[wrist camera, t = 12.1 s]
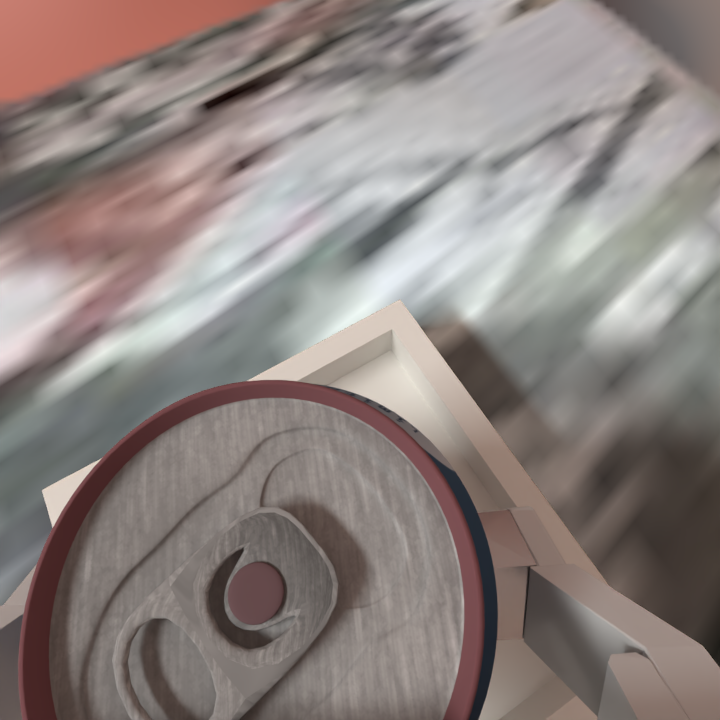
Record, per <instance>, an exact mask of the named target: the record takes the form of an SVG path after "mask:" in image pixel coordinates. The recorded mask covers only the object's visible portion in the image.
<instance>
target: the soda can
mask: <svg viewBox="0 0 720 720" xmlns="http://www.w3.org/2000/svg"><path fill="white" fill-rule="evenodd" d="M497 628H498V603H497V589H496V579H495V573H494V567H493V561H492V556H491V552H490V548H489V544H488V540H487V537H486V534H485V531H484V528H483V525H482V522H481V520H480V517H479V515H478V513H477V510H476V508H475V506H474V503H473V501H472V499H471V497H470V495H469V493H468V491H467V490H466V488H465V486H464V485H463V483H462V481H461V479H460V478H459V476H458V475H457V473H456V472H455V470H454V469H453V468H452V466H451V465H450V463H449V462H448V461H447V460H446V458H445V457H444V456H443V455H442V453H441V452H440V451H439V450H438V449H437V448H436V447H435V446H434V444H433V443H432V442H431V441H430V440H429V439H428V438H427V437H426V436H424V435H423V434H422V433H421V432H420V431H419V430H418V429H417V428H415V427H414V426H413V425H412V424H410V423H409V422H408V421H407V420H405V419H404V418H402V417H401V416H399V415H398V414H396V413H395V412H393V411H392V410H390V409H388V408H386V407H385V406H383V405H381V404H379V403H377V402H375V401H373V400H371V399H369V398H366V397H364V396H361V395H358V394H356V393H353V392H350V391H346V390H343V389H339V388H335V387H330V386H325V385H318V384H311V383H305V382H298V381H288V380H256V381H245V382H238V383H232V384H227V385H222V386H218V387H214V388H211V389H207V390H204V391H201V392H198V393H196V394H193V395H190V396H188V397H186V398H184V399H181V400H179V401H177V402H175V403H173V404H171V405H170V406H168V407H166V408H164V409H162V410H161V411H159V412H158V413H156V414H154V415H153V416H151V417H150V418H148V419H147V420H145V421H144V422H143V423H141V424H140V425H139V426H137V427H136V428H135V429H133V430H132V431H131V432H130V433H128V434H127V435H126V436H125V437H124V438H123V439H121V440H120V441H119V442H118V443H117V444H116V445H115V446H114V447H113V448H112V449H111V450H110V451H108V452H107V453H106V454H105V456H104V457H103V458H102V459H101V460H100V461H99V462H98V463H97V464H96V465H95V466H94V467H93V469H92V470H91V471H90V472H89V474H88V475H87V476H86V477H85V478H84V480H83V481H82V482H81V484H80V485H79V486H78V488H77V489H76V490H75V492H74V493H73V495H72V496H71V498H70V499H69V501H68V502H67V504H66V506H65V507H64V509H63V510H62V512H61V514H60V516H59V517H58V519H57V521H56V523H55V525H54V526H53V528H52V530H51V533H50V535H49V537H48V539H47V541H46V543H45V545H44V548H43V550H42V553H41V555H40V558H39V560H38V563H37V565H36V569H35V572H34V575H33V578H32V581H31V584H30V588H29V592H28V596H27V600H26V604H25V609H24V614H23V619H22V626H21V634H20V642H19V659H18V683H19V697H20V708H21V714H22V720H478V719H479V717H480V714H481V711H482V708H483V705H484V702H485V699H486V696H487V692H488V688H489V684H490V680H491V676H492V670H493V665H494V659H495V652H496V643H497Z"/></svg>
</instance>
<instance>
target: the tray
mask: <svg viewBox="0 0 720 720" xmlns="http://www.w3.org/2000/svg"><path fill="white" fill-rule="evenodd" d="M256 380H288V381H298V382H305V383H311V384H318V385H325V386H330V387H335V388H339V389H343V390H346V391H350V392H353V393H356V394H358V395H361V396H364V397H366V398H369V399H371V400H373V401H375V402H377V403H379V404H381V405H383V406H385V407H386V408H388V409H390V410H392V411H393V412H395V413H396V414H398V415H399V416H401V417H402V418H404V419H405V420H407V421H408V422H409V423H410V424H412V425H413V426H414V427H415V428H417V429H418V430H419V431H420V432H421V433H422V434H423V435H424V436H426V437H427V438H428V439H429V440H430V441H431V442H432V443H433V444H434V446H435V447H436V448H437V449H438V450H439V451H440V452H441V453H442V455H443V456H444V457H445V458H446V460H447V461H448V462H449V463H450V465H451V466H452V468H453V469H454V470H455V472H456V473H457V475H458V476H459V478H460V479H461V481H462V483H463V485H464V486H465V488H466V490H467V491H468V493H469V495H470V497H471V499H472V501H473V503H474V506H475V508H476V510H477V511H486V510H498V509H507V508H515V507H525V506H531V507H532V508H533V509H534V510H535V511H536V513H537V515H538V517H539V518H540V520H541V522H542V523H543V525H544V527H545V528H546V530H547V532H548V534H549V535H550V537H551V539H552V540H553V542H554V544H555V546H556V547H557V549H558V551H559V552H560V554H561V556H562V557H563V559H564V561H565V563H566V564H575V565H577V566H578V567H580V568H581V569H583V570H585V571H586V572H588V573H589V574H591V575H592V576H594V577H596V578H597V579H599V580H600V581H602V582H603V583H605V584H607V585H608V583H607V582H606V581H605V579H604V578H603V576H602V575H601V574H600V572H599V571H598V570H597V568H596V567H595V565H594V564H593V563H592V561H591V560H590V559H589V557H588V556H587V555H586V553H585V552H584V550H583V549H582V548H581V546H580V545H579V544H578V542H577V541H576V539H575V538H574V537H573V535H572V534H571V533H570V531H569V530H568V529H567V527H566V526H565V524H564V523H563V522H562V520H561V519H560V518H559V516H558V515H557V513H556V512H555V511H554V509H553V508H552V507H551V505H550V504H549V503H548V501H547V500H546V498H545V497H544V496H543V494H542V493H541V492H540V490H539V489H538V487H537V486H536V485H535V483H534V482H533V481H532V479H531V478H530V477H529V475H528V474H527V472H526V471H525V470H524V468H523V467H522V466H521V464H520V463H519V461H518V460H517V459H516V457H515V456H514V455H513V453H512V452H511V451H510V449H509V448H508V446H507V445H506V444H505V442H504V441H503V440H502V438H501V437H500V435H499V434H498V433H497V431H496V430H495V429H494V427H493V426H492V425H491V423H490V422H489V420H488V419H487V418H486V416H485V415H484V414H483V412H482V411H481V409H480V408H479V407H478V405H477V404H476V403H475V401H474V400H473V399H472V397H471V396H470V394H469V393H468V392H467V390H466V389H465V388H464V386H463V385H462V383H461V382H460V381H459V379H458V378H457V377H456V375H455V374H454V373H453V371H452V370H451V368H450V367H449V366H448V364H447V363H446V362H445V360H444V359H443V357H442V356H441V355H440V353H439V352H438V351H437V349H436V348H435V347H434V345H433V344H432V342H431V341H430V340H429V338H428V337H427V336H426V334H425V333H424V331H423V330H422V329H421V327H420V326H419V325H418V323H417V322H416V321H415V319H414V318H413V316H412V315H411V314H410V312H409V311H408V310H407V308H406V307H405V305H404V304H403V303H402V301H401V300H398V301H396V302H394V303H392V304H390V305H389V306H387V307H385V308H383V309H381V310H379V311H377V312H375V313H374V314H372V315H370V316H368V317H366V318H364V319H362V320H360V321H359V322H357V323H355V324H353V325H351V326H349V327H347V328H345V329H344V330H342V331H340V332H338V333H336V334H334V335H332V336H330V337H329V338H327V339H325V340H323V341H321V342H319V343H317V344H315V345H313V346H312V347H310V348H308V349H306V350H304V351H302V352H300V353H298V354H297V355H295V356H293V357H291V358H289V359H287V360H285V361H283V362H282V363H280V364H278V365H276V366H274V367H272V368H270V369H268V370H267V371H265V372H263V373H261V374H259V375H257V376H255V377H253V378H252V379H250V380H248V381H256ZM101 459H102V458H101ZM101 459H100V460H101ZM100 460H98V461H96V462H94V463H92V464H90V465H88V466H86V467H85V468H83V469H81V470H79V471H77V472H75V473H73V474H71V475H69V476H68V477H66V478H64V479H62V480H60V481H58V482H56V483H54V484H53V485H51V486H49V487H47V488H45V489H43V490H42V492H43V496H44V499H45V502H46V506H47V509H48V513H49V516H50V520H51V523H52V527H53V526H54V525H55V523H56V521H57V519H58V517H59V516H60V514H61V512H62V510H63V509H64V507H65V506H66V504H67V502H68V501H69V499H70V498H71V496H72V495H73V493H74V492H75V490H76V489H77V488H78V486H79V485H80V484H81V482H82V481H83V480H84V478H85V477H86V476H87V475H88V474H89V472H90V471H91V470H92V469H93V467H94V466H95V465H96V464H97V463H98V462H99V461H100ZM608 586H609V585H608ZM597 718H598V717H597V716H596V715H595V714H594V713H593V712H592V711H591V710H590V709H589V708H588V707H587V706H586V705H585V704H584V703H583V702H582V701H581V700H580V699H579V698H578V697H577V696H576V694H575V693H574V692H573V691H572V690H571V689H570V688H569V687H568V686H567V685H566V684H565V683H564V682H563V681H562V680H561V679H560V678H559V677H558V676H557V675H556V674H555V673H554V672H553V671H552V670H551V669H550V668H549V667H548V666H547V665H546V664H545V663H544V662H543V661H542V660H541V659H540V658H539V657H538V656H537V655H536V654H535V653H534V652H533V651H532V650H531V648H530V647H529V646H528V645H527V644H526V643H525V642H524V639H514V640H497V643H496V652H495V659H494V665H493V670H492V676H491V680H490V684H489V688H488V692H487V696H486V699H485V702H484V705H483V708H482V711H481V714H480V717H479V719H478V720H597Z"/></svg>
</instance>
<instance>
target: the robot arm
mask: <svg viewBox="0 0 720 720" xmlns="http://www.w3.org/2000/svg"><path fill="white" fill-rule="evenodd" d="M477 513H478V515H479V517H480V520H481V522H482V525H483V528H484V531H485V534H486V537H487V540H488V544H489V548H490V552H491V556H492V561H493V567H494V573H495V579H496V589H497V603H498V628H497V640H514V639H524V642H525V643H526V644H527V645H528V646H529V647H530V648H531V650H532V651H533V652H534V653H535V654H536V655H537V656H538V657H539V658H540V659H541V660H542V661H543V662H544V663H545V664H546V665H547V666H548V667H549V668H550V669H551V670H552V671H553V672H554V673H555V674H556V675H557V676H558V677H559V678H560V679H561V680H562V681H563V682H564V683H565V684H566V685H567V686H568V687H569V688H570V689H571V690H572V691H573V692H574V693H575V694H576V696H577V697H578V698H579V699H580V700H581V701H582V702H583V703H584V704H585V705H586V706H587V707H588V708H589V709H590V710H591V711H592V712H593V713H594V714H595V715H596V716H597V717H598V718H597V720H720V668H719V666H718V665H717V664H716V662H715V661H714V660H713V658H712V657H711V656H710V654H709V653H708V652H707V651H706V649H705V648H704V647H703V646H702V645H701V644H699V643H698V642H696V641H694V640H693V639H691V638H690V637H688V636H687V635H685V634H683V633H682V632H680V631H679V630H677V629H676V628H674V627H672V626H671V625H669V624H668V623H666V622H665V621H663V620H662V619H660V618H658V617H657V616H655V615H654V614H652V613H651V612H649V611H647V610H646V609H644V608H643V607H641V606H640V605H638V604H636V603H635V602H633V601H632V600H630V599H629V598H627V597H625V596H624V595H622V594H621V593H619V592H618V591H616V590H614V589H613V588H611V587H610V586H608V585H607V584H605V583H603V582H602V581H600V580H599V579H597V578H596V577H594V576H592V575H591V574H589V573H588V572H586V571H585V570H583V569H581V568H580V567H578V566H577V565H575V564H566V563H565V561H564V559H563V557H562V556H561V554H560V552H559V551H558V549H557V547H556V546H555V544H554V542H553V540H552V539H551V537H550V535H549V534H548V532H547V530H546V528H545V527H544V525H543V523H542V522H541V520H540V518H539V517H538V515H537V513H536V511H535V510H534V509H533V508H532V507H531V506H525V507H515V508H507V509H498V510H486V511H477ZM35 569H36V566H35V567H34V568H33V569H32V571H31V572H30V573H29V574H28V576H27V577H26V578H25V579H24V580H23V582H22V583H21V584H20V585H19V587H18V588H17V589H16V590H15V591H14V593H13V594H12V595H11V596H10V598H9V599H8V600H7V601H6V602H5V604H4V605H3V606H0V720H22V714H21V708H20V697H19V683H18V659H19V642H20V634H21V626H22V619H23V614H24V609H25V604H26V600H27V596H28V592H29V588H30V584H31V581H32V578H33V575H34V572H35Z"/></svg>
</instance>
